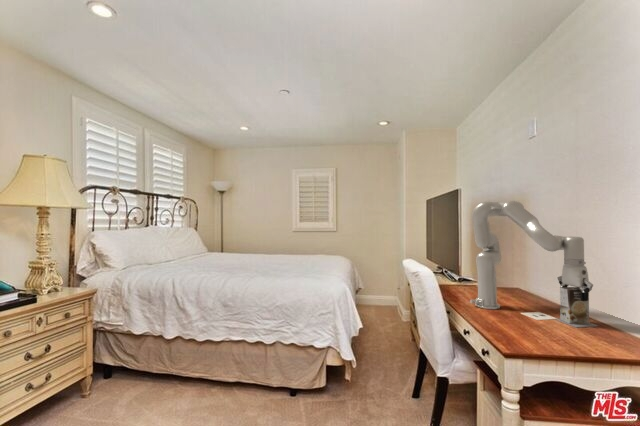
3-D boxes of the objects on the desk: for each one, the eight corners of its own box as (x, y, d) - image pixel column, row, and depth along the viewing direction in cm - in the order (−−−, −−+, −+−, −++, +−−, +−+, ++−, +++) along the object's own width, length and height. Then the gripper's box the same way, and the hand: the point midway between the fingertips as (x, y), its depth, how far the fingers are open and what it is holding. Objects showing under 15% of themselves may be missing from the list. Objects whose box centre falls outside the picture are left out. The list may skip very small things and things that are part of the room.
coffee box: (569, 324, 145) (568, 289, 145) (559, 319, 151) (558, 286, 152) (590, 324, 144) (589, 289, 145) (579, 319, 151) (578, 286, 151)
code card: (537, 320, 152) (537, 319, 152) (520, 313, 163) (520, 312, 163) (557, 319, 153) (557, 318, 153) (539, 312, 164) (539, 311, 164)
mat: (576, 327, 141) (576, 326, 141) (555, 319, 152) (555, 319, 152) (597, 326, 142) (597, 325, 142) (575, 318, 153) (575, 317, 153)
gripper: (599, 265, 140) (599, 302, 139) (564, 259, 157) (565, 293, 157) (584, 265, 139) (585, 303, 139) (551, 260, 156) (551, 293, 156)
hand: (574, 298), depth 148 cm, fingers open, 9 cm apart
